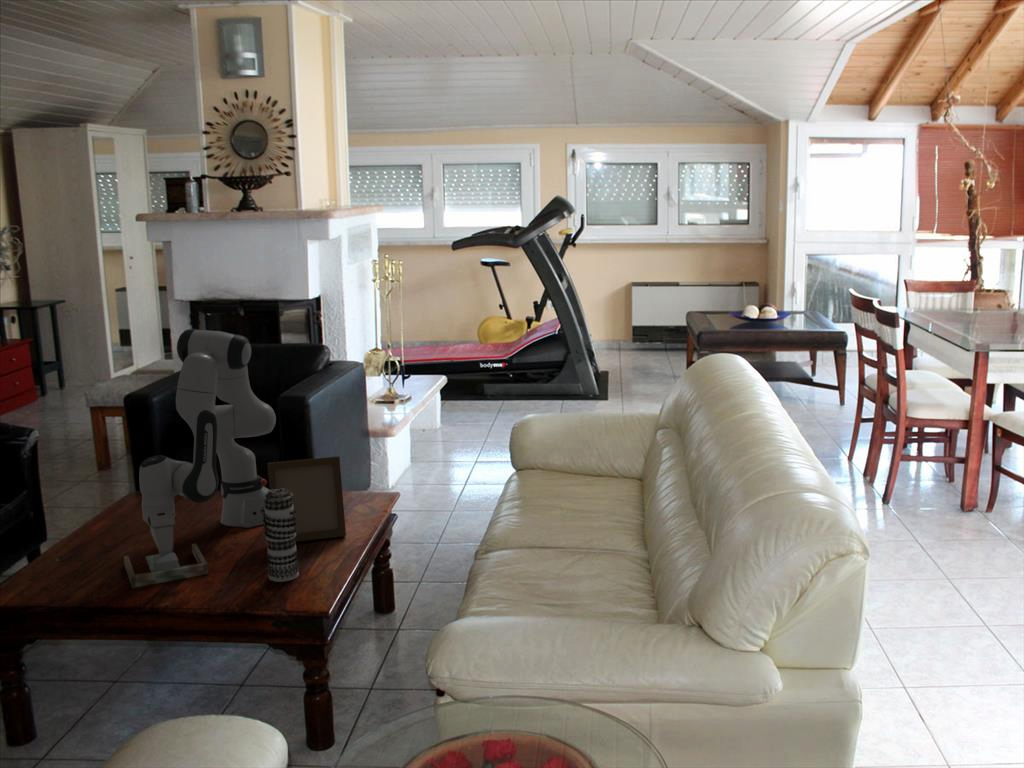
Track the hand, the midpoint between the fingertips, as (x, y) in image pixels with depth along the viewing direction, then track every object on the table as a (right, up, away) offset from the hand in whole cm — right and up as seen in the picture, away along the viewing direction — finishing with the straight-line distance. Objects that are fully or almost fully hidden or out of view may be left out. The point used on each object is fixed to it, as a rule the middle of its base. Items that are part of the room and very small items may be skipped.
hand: (163, 557), depth 288 cm
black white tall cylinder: (+37, -4, -8) cm, 38 cm away
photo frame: (+37, +3, +24) cm, 44 cm away
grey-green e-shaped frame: (+1, -3, 0) cm, 3 cm away
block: (+2, -3, -3) cm, 5 cm away
